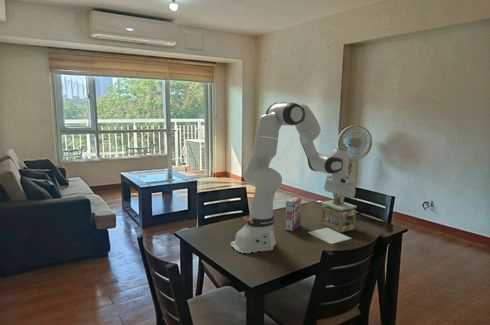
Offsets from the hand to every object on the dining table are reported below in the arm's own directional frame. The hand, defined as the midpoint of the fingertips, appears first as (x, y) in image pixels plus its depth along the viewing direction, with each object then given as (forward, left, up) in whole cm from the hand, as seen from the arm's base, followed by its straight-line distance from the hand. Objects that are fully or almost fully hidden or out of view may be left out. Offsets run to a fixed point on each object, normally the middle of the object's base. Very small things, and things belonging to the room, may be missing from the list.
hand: (338, 202), depth 186 cm
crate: (0, 0, -14) cm, 14 cm away
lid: (0, 0, -2) cm, 2 cm away
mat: (-14, -8, -14) cm, 21 cm away
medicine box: (0, 0, -15) cm, 15 cm away
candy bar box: (-23, +11, -15) cm, 29 cm away
